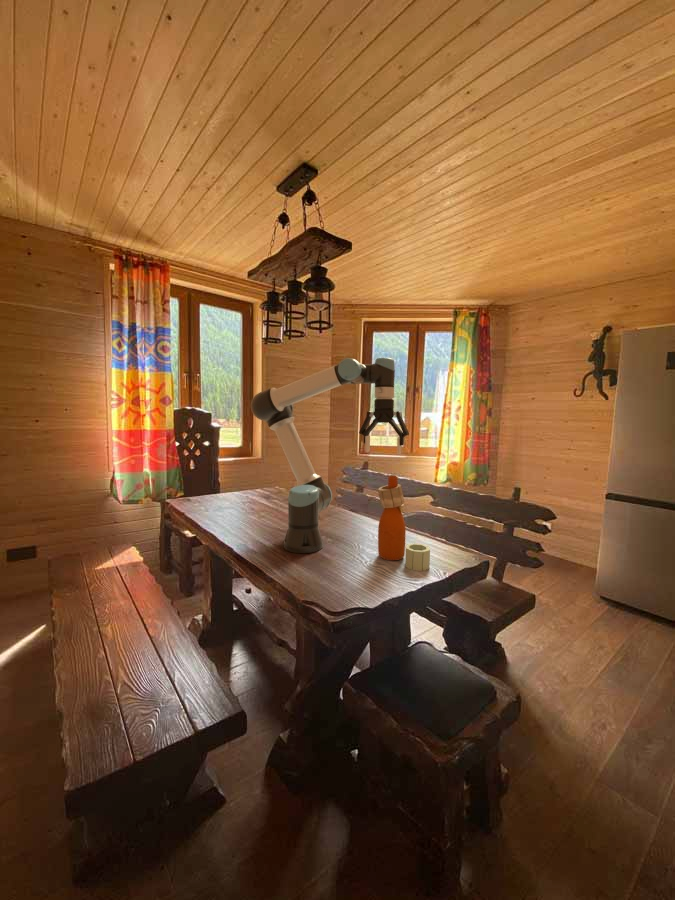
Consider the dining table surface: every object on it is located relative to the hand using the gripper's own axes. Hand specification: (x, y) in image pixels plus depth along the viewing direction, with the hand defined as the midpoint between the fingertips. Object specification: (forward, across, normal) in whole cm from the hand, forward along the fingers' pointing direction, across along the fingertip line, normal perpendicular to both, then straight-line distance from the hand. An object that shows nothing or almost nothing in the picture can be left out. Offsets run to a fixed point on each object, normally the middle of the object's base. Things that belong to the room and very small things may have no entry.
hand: (382, 453), depth 147 cm
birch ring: (+17, +9, -11) cm, 22 cm away
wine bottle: (+37, +9, -11) cm, 40 cm away
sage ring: (+37, +20, -14) cm, 44 cm away
